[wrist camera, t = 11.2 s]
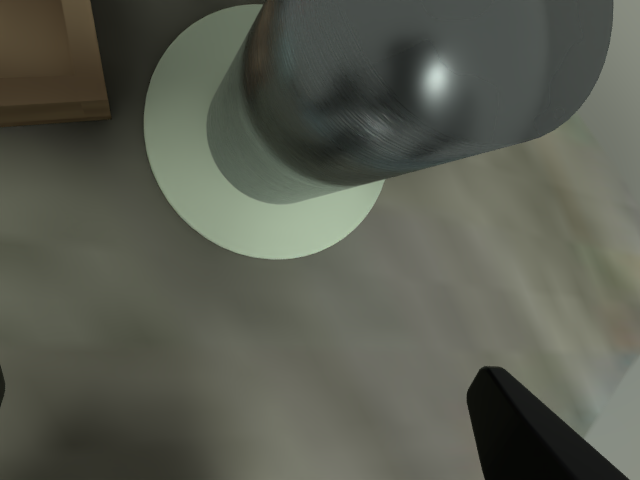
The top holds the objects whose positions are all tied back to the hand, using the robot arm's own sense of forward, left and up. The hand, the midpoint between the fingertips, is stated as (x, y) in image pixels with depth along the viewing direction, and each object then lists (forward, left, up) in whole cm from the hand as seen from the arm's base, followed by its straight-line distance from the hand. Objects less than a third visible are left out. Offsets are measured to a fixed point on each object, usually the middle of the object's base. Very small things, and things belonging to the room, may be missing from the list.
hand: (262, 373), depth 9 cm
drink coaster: (+7, -1, -10) cm, 12 cm away
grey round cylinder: (+7, -1, -9) cm, 12 cm away
